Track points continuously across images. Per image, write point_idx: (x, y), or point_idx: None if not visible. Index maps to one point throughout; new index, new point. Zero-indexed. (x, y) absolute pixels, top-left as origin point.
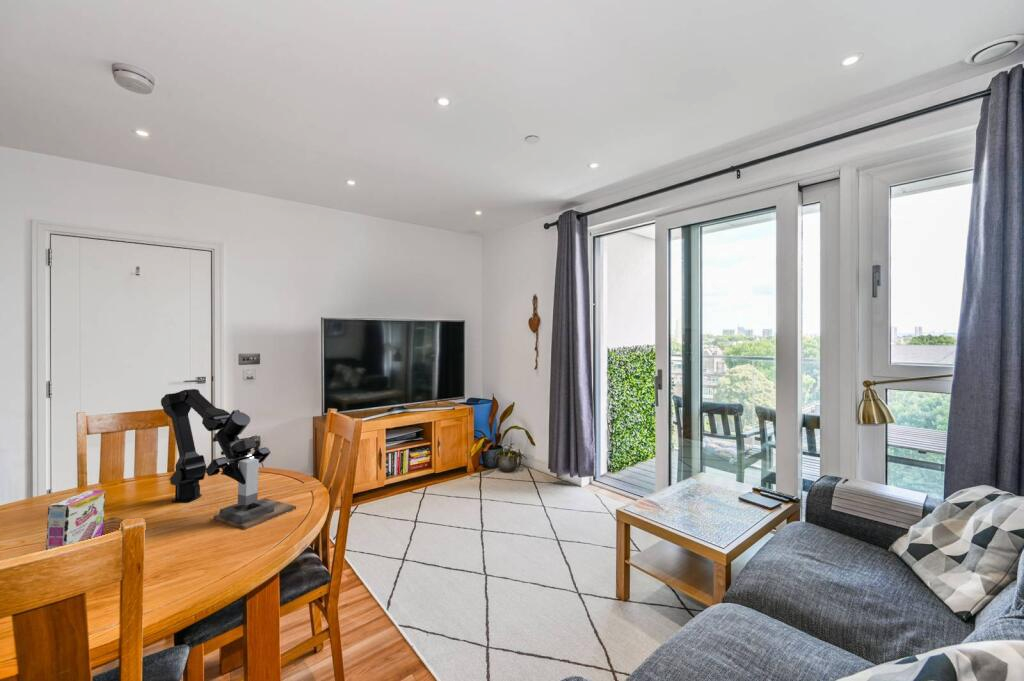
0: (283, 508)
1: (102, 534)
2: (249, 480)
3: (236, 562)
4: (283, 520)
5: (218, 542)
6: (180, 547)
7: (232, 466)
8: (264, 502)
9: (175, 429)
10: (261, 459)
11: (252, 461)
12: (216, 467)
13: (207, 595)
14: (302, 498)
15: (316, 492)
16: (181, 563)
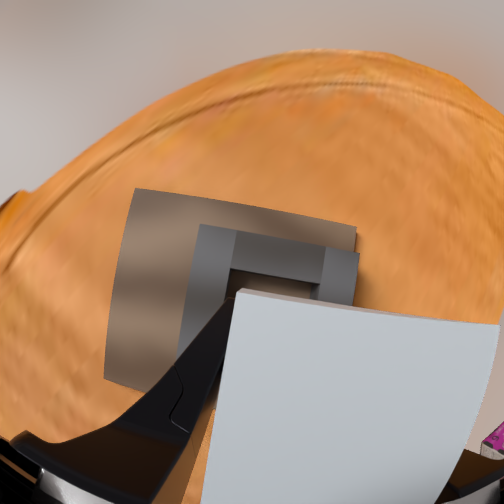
0: (167, 217)
1: (501, 450)
2: (332, 303)
3: (455, 124)
4: (243, 158)
5: (433, 237)
6: (471, 309)
7: (477, 457)
8: (197, 286)
9: None
10: (14, 462)
11: (416, 317)
12: (501, 496)
13: (499, 112)
14: (54, 248)
15: (12, 241)
16: (499, 231)
